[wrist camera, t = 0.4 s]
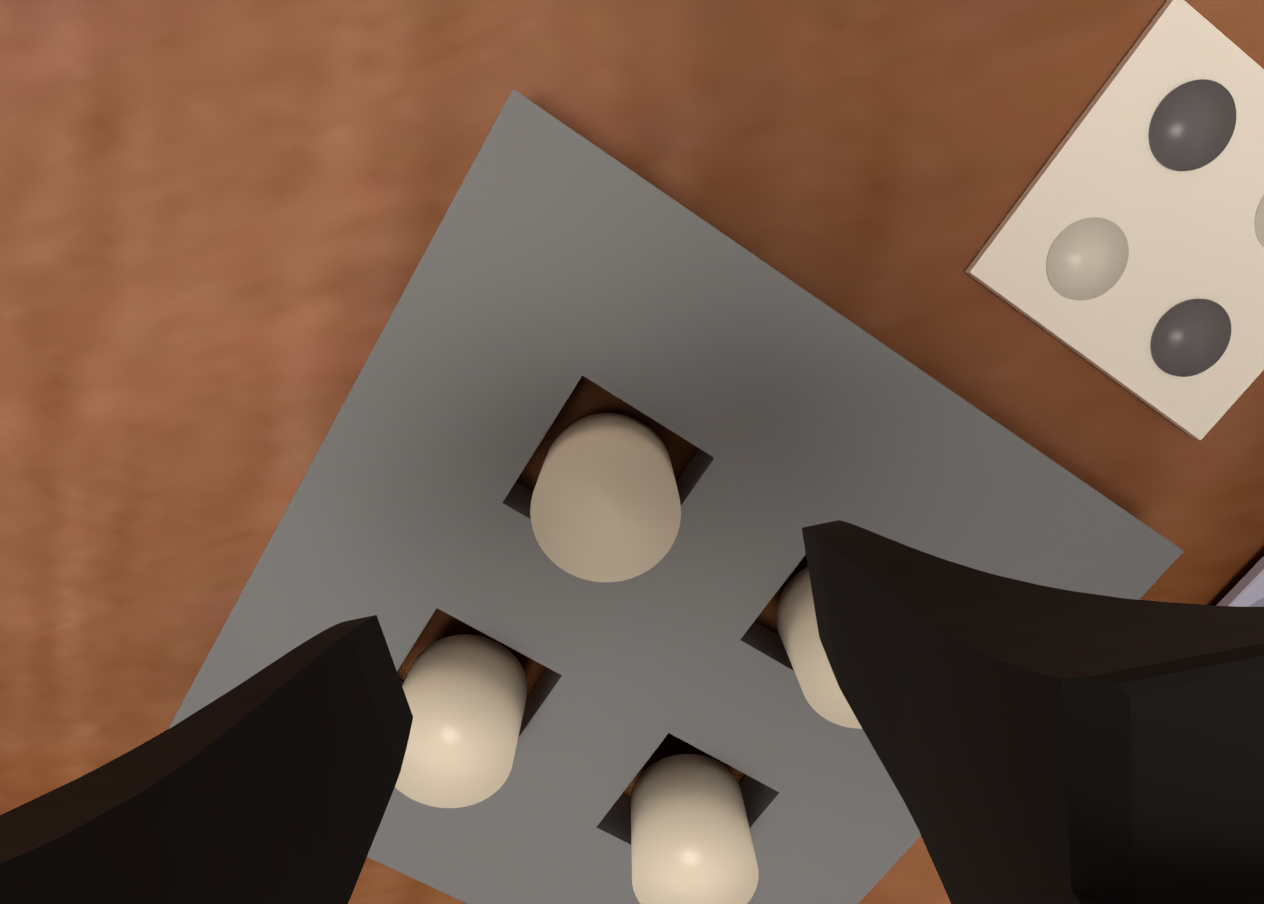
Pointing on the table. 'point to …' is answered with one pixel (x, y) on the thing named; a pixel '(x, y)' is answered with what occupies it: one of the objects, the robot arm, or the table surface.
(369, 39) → the table surface
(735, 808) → the button
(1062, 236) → the card
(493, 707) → the button
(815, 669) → the button
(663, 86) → the table surface
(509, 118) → the board
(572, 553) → the button
